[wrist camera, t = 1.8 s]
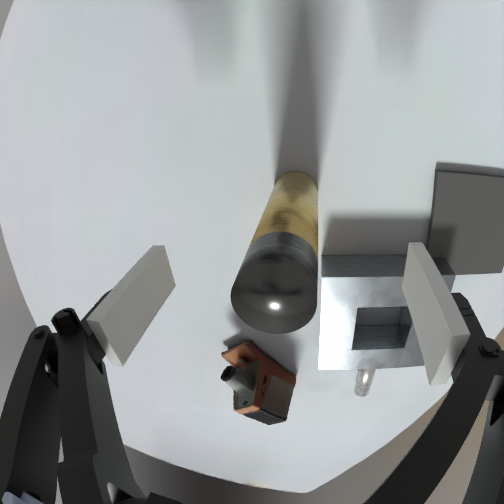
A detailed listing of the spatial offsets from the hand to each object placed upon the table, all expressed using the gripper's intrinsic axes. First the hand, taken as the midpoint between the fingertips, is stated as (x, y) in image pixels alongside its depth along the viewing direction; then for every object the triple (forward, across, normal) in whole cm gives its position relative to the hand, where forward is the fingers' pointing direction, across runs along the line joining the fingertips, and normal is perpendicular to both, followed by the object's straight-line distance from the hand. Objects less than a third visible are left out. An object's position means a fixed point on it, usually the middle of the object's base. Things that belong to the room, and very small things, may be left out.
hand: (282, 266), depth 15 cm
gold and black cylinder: (+11, 0, +1) cm, 11 cm away
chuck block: (+11, +8, -15) cm, 20 cm away
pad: (+11, +17, -2) cm, 20 cm away
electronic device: (+11, -5, -21) cm, 24 cm away
